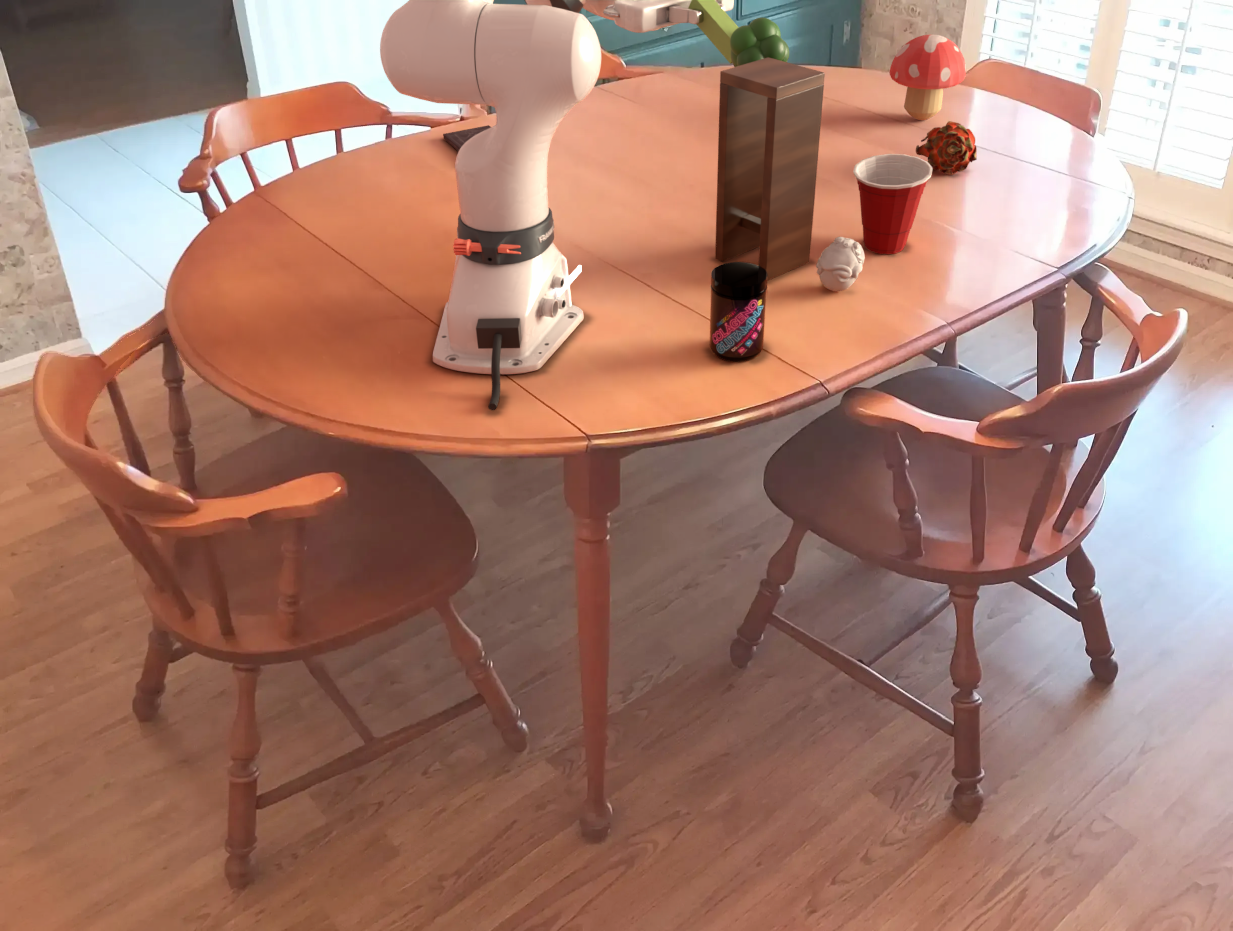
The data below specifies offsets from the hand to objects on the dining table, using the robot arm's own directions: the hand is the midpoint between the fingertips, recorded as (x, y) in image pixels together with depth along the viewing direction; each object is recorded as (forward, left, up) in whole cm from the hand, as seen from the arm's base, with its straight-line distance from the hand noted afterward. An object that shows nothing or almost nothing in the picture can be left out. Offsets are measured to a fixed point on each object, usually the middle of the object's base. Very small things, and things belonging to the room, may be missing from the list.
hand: (711, 15), depth 160 cm
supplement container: (-49, -10, -28) cm, 57 cm away
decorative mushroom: (+41, -35, -28) cm, 61 cm away
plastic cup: (-16, -28, -28) cm, 43 cm away
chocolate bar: (+16, +42, -28) cm, 53 cm away
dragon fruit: (+16, -38, -28) cm, 50 cm away
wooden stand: (-23, -11, -28) cm, 38 cm away
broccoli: (-2, -3, -4) cm, 6 cm away
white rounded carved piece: (-30, -22, -28) cm, 47 cm away
